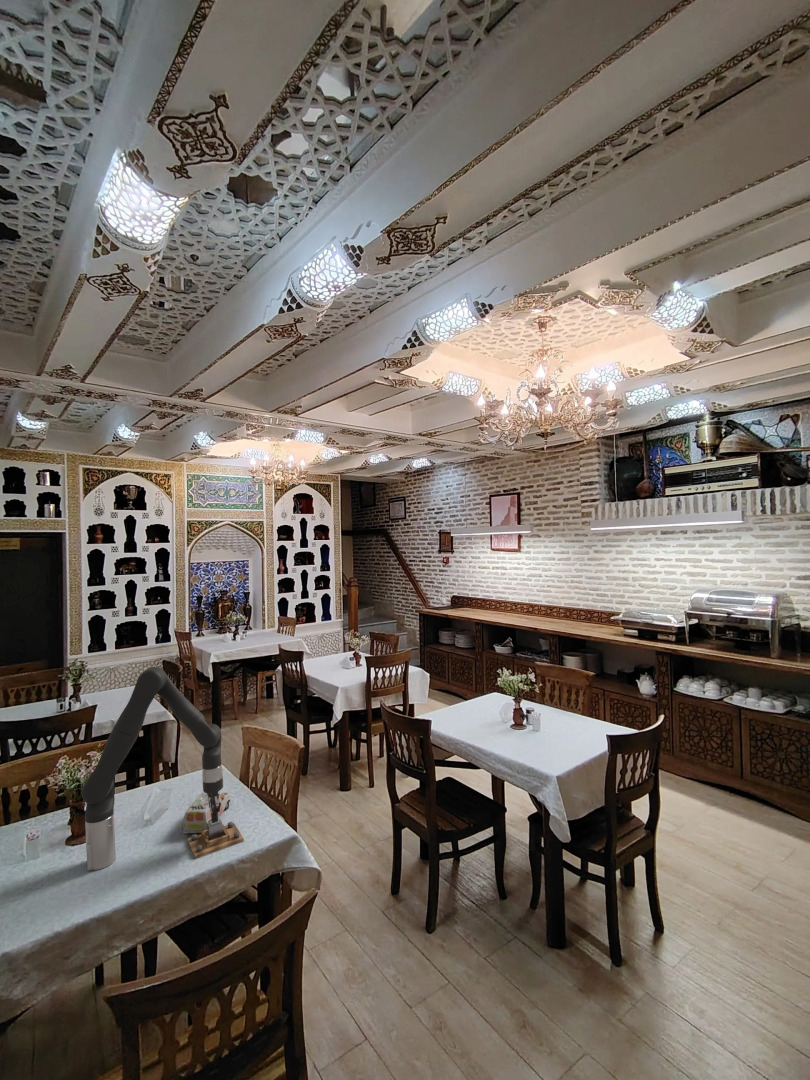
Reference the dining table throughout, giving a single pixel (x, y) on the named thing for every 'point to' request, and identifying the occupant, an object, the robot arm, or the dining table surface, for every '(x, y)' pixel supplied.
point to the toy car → (202, 813)
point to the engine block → (214, 830)
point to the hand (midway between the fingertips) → (214, 821)
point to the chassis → (214, 841)
